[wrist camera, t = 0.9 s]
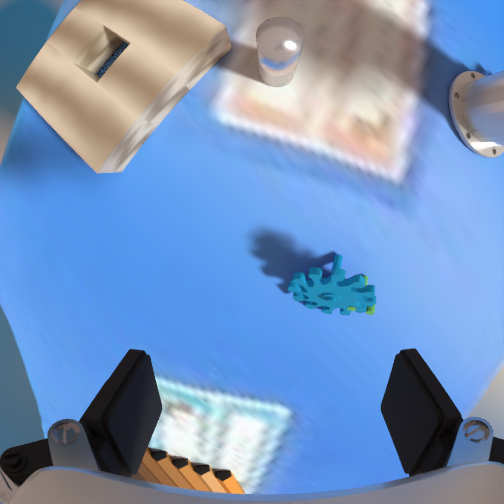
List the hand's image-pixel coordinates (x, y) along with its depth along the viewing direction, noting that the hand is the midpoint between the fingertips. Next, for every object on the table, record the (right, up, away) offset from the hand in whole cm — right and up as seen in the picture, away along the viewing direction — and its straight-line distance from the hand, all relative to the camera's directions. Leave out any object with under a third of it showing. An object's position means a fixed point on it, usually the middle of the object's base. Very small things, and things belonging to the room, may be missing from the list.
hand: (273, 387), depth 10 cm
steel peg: (+2, +25, +19) cm, 32 cm away
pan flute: (-17, -38, +38) cm, 57 cm away
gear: (+9, +1, +26) cm, 27 cm away
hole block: (-17, +28, +19) cm, 38 cm away
